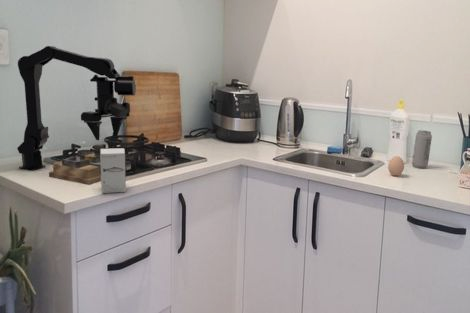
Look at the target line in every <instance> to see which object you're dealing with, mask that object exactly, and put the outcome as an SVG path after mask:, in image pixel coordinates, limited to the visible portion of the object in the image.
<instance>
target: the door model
mask: <svg viewBox="0 0 470 313" xmlns="http://www.w3.org/2000/svg"><path fill="white" fill-rule="evenodd" d="M92 153H94V150H93V151H90V152H86V153H82V154H79V156H77V157H76V156H71V157H66V158H63V159H61V161H57V162H55V163H54V162H53V163H52V171H49V172H48V178H49V177H50V178H54V179H55V178H56V179H60V180H65V181H70V182H74V183H79V184H85V185H93V184H95V183H98V182H101V164H100V155H99V156H95V157H93V162H90V161H89V159H85V158H84V155H88V154H92Z"/></svg>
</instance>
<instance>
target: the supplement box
mask: <svg viewBox="0 0 470 313" xmlns="http://www.w3.org/2000/svg"><path fill="white" fill-rule="evenodd" d="M125 150H126V149H125V148H124V147H123V148H104V149H100V164H101V181H100V185H101V186H100V189H101V190H100V191H101V194H107V193H108V194H109V193H126V190H127V187H126V186H127V185H126V152H125Z"/></svg>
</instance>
